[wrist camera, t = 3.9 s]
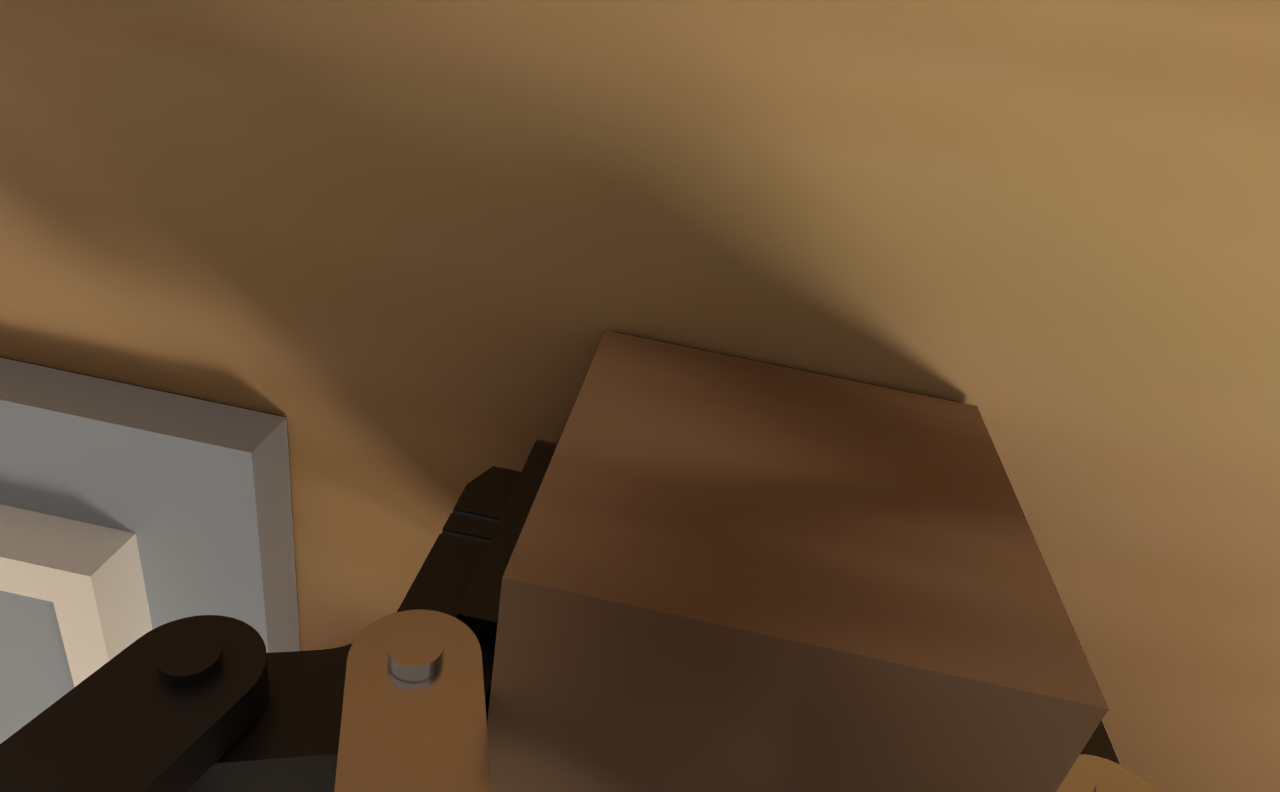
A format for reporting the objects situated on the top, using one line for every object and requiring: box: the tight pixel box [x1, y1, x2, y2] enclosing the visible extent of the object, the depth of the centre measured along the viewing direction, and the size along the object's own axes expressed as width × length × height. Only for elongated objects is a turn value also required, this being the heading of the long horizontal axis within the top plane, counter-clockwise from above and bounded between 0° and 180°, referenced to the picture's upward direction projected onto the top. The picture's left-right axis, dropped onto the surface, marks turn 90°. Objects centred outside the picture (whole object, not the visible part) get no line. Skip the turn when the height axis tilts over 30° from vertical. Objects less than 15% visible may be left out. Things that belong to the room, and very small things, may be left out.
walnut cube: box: [487, 330, 1108, 792], centre depth 10 cm, size 5×5×5 cm
